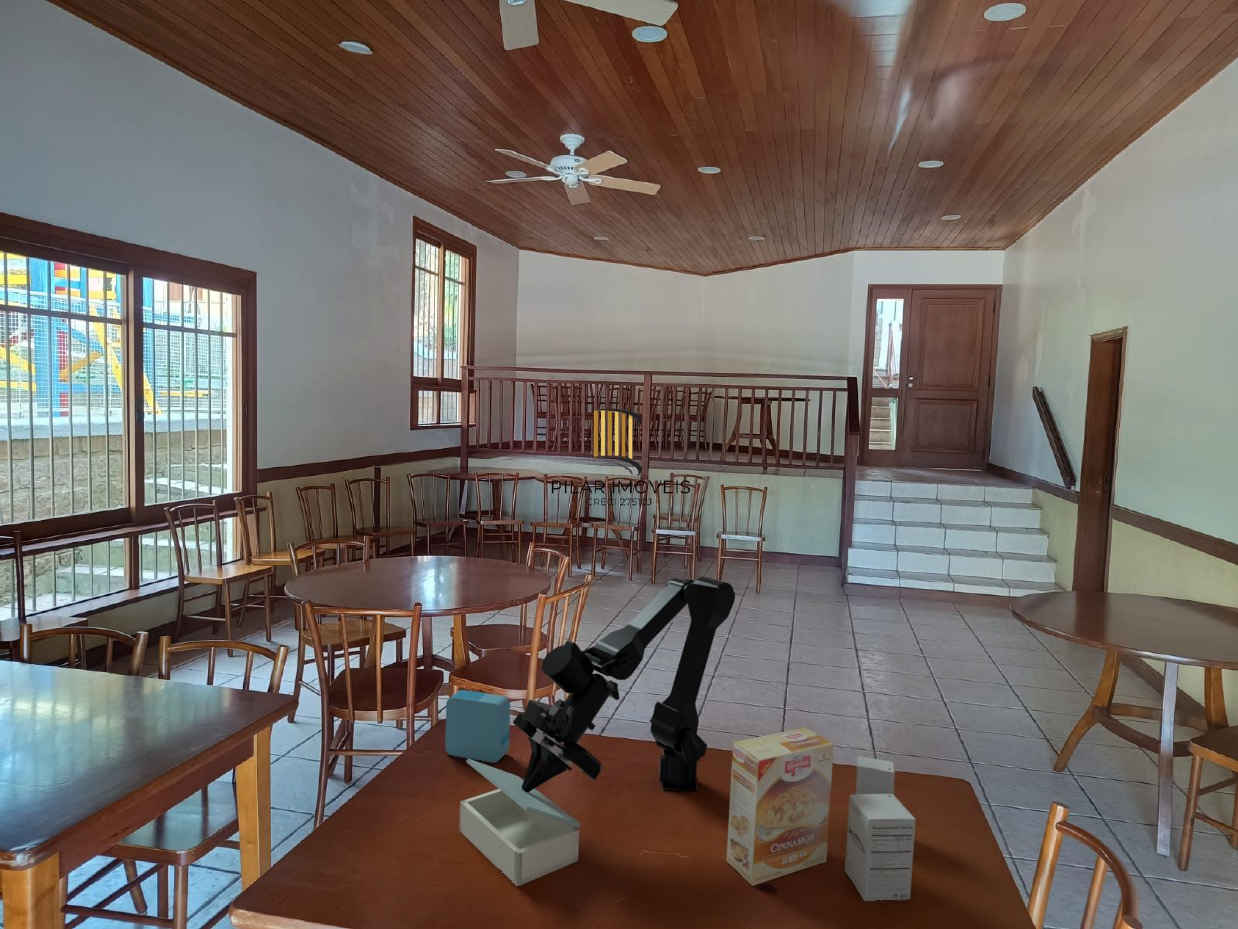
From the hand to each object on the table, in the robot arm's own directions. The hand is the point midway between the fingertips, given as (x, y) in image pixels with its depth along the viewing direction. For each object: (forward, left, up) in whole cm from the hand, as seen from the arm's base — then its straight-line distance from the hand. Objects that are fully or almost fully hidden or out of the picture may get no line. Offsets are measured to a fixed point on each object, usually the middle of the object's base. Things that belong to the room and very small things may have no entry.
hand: (524, 790), depth 121 cm
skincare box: (-58, -8, -9) cm, 60 cm away
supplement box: (-54, +7, -9) cm, 56 cm away
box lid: (+1, 0, 0) cm, 1 cm away
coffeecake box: (-40, +2, -9) cm, 41 cm away
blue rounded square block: (+14, -30, -9) cm, 34 cm away
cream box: (+1, +1, -9) cm, 9 cm away
